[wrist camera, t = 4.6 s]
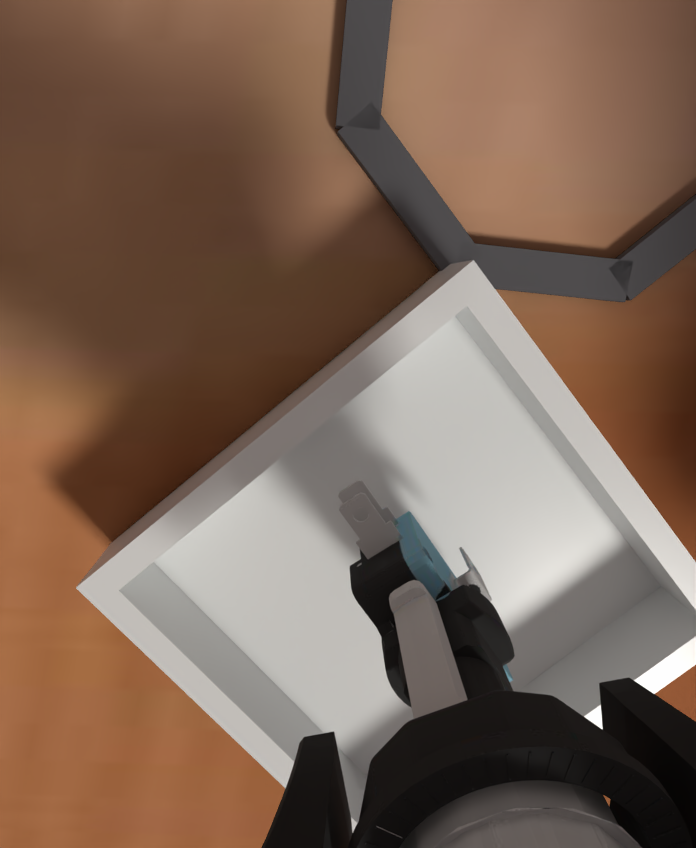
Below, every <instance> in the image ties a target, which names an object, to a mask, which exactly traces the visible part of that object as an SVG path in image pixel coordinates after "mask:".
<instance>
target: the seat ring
mask: <svg viewBox="0 0 696 848" xmlns="http://www.w3.org/2000/svg"><path fill="white" fill-rule="evenodd" d="M392 1H393V0H347V4H346V15H345V26H344V38H343V49H342V60H341V72H340V83H339V94H338V106H337V117H336V128H335V129H340V130H339V131H338V133H337V135H338V137H339V138H340V139H341V141H342V142H343V143H344V145H345V146H346V147H347V149H348V150H349V151H350V153H351V154H352V155H353V157H354V158H355V159H356V161H357V162H358V163H359V165H360V166H361V167H362V169H363V170H364V171H365V173H366V174H367V175H368V177H369V178H370V179H371V181H372V182H373V183H374V185H375V186H376V187H377V189H378V190H379V191H380V193H381V194H382V195H383V197H384V198H385V199H386V201H387V202H388V203H389V204H390V206H391V207H392V208H393V210H394V211H395V212H396V214H397V215H398V216H399V218H400V219H401V220H402V222H403V223H404V224H405V226H406V227H407V228H408V230H409V231H410V232H411V234H412V235H413V236H414V238H415V239H416V240H417V242H418V243H419V244H420V246H421V247H422V248H423V250H424V251H425V252H426V254H427V255H428V256H429V258H430V259H431V260H432V262H433V263H434V264H435V266H436V267H437V268H438V270H439V271H442V270H444V269H445V268H446V267H447V266H449V265H450V264H453V263H459V262H464V261H470V260H474V261H475V263H476V264H477V265H478V267H479V268H480V269H481V271H482V272H483V273H484V275H485V276H486V278H487V279H488V280H489V282H490V283H491V284H492V286H493V287H494V288H495V289H501V290H510V291H520V292H529V293H539V294H549V295H558V296H568V297H577V298H587V299H596V300H606V301H615V302H625V300H632V299H633V298H634V297H636V296H637V295H638V294H639V293H641V292H642V291H643V290H644V289H646V288H647V287H648V286H649V285H651V284H652V283H653V282H655V281H656V280H657V279H658V278H660V277H661V276H662V275H663V274H665V273H666V272H667V271H668V270H670V269H671V268H672V267H673V266H675V265H676V264H677V263H679V262H680V261H681V260H682V259H684V258H685V257H686V256H687V255H689V254H690V253H691V252H692V251H694V250H695V249H696V194H695V195H694V196H693V197H692V198H690V199H689V200H688V201H687V202H685V203H684V204H683V205H682V206H680V207H679V208H678V209H677V210H675V211H674V212H673V213H672V214H670V215H669V216H668V217H667V218H665V219H664V220H663V221H662V222H660V223H659V224H658V225H657V226H655V227H654V228H653V229H652V230H650V231H649V232H648V233H647V234H645V235H644V236H643V237H642V238H640V239H639V240H638V241H637V242H635V243H634V244H633V245H632V246H630V247H629V248H628V249H627V250H625V251H624V252H623V253H622V254H621V255H619V256H618V257H617V258H616V259H610V258H601V257H592V256H583V255H574V254H565V253H556V252H547V251H538V250H529V249H520V248H511V247H502V246H493V245H484V244H475V243H474V242H473V240H472V239H471V238H470V236H469V235H468V233H467V232H466V231H465V229H464V228H463V227H462V225H461V224H460V222H459V221H458V220H457V218H456V217H455V216H454V214H453V213H452V212H451V210H450V209H449V207H448V206H447V205H446V203H445V202H444V201H443V199H442V198H441V196H440V195H439V194H438V192H437V191H436V190H435V188H434V187H433V185H432V184H431V183H430V181H429V180H428V179H427V177H426V176H425V174H424V173H423V172H422V170H421V169H420V168H419V166H418V165H417V164H416V162H415V161H414V159H413V158H412V157H411V155H410V154H409V153H408V151H407V150H406V148H405V147H404V146H403V144H402V143H401V142H400V140H399V139H398V137H397V136H396V135H395V133H394V132H393V131H392V129H391V128H390V126H389V125H388V124H387V122H386V121H385V120H384V118H383V117H382V116H381V108H382V98H383V88H384V78H385V69H386V59H387V49H388V40H389V30H390V20H391V10H392Z"/></svg>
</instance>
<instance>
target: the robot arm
mask: <svg viewBox="0 0 696 848" xmlns="http://www.w3.org/2000/svg"><path fill="white" fill-rule="evenodd" d="M599 689H600V701H601V714H602V727H603V730H604V731H605V732H606V733H608V734H609V735H611V736H612V737H614V738H615V739H616V740H618V741H619V742H620V743H621V744H622V746H623V747H624V749H625V751H626V752H627V754H629V755H630V756H632V757H633V758H635V759H636V760H638V761H639V762H640V763H641V764H643V765H644V766H645V767H646V768H647V769H648V770H650V771H651V773H652V774H653V775H654V776H655V777H656V778H657V779H658V780H659V781H660V783H661V784H662V786H663V787H664V788H665V790H666V791H667V793H668V794H669V796H670V797H671V799H672V801H673V802H674V804H675V805H676V807H677V808H678V810H679V812H680V813H681V815H682V817H683V819H684V821H685V823H686V825H687V828H688V831H689V834H690V837H691V840H692V845H693V848H696V722H695V721H694V720H692V719H691V718H689V717H688V716H686V715H685V714H683V713H682V712H680V711H679V710H677V709H676V708H674V707H673V706H671V705H670V704H668V703H667V702H665V701H664V700H662V699H661V698H659V697H658V696H656V695H655V694H653V693H652V692H650V691H649V690H647V689H646V688H644V687H643V686H641V685H640V684H638V683H637V682H635V681H634V680H632V679H631V678H629V677H628V678H623V679H617V680H612V681H606V682H601V683H599ZM352 834H353V832H352V822H351V814H350V809H349V804H348V799H347V794H346V789H345V784H344V779H343V774H342V768H341V763H340V758H339V753H338V748H337V743H336V738H335V733H334V732H328V733H323V734H317V735H312V736H306V737H304V738H303V739H302V740H301V741H300V743H299V746H298V751H297V754H296V758H295V761H294V765H293V768H292V771H291V774H290V777H289V780H288V783H287V786H286V789H285V792H284V794H283V797H282V800H281V802H280V805H279V807H278V810H277V812H276V815H275V817H274V820H273V822H272V825H271V828H270V830H269V832H268V835H267V837H266V839H265V841H264V844H263V846H262V848H348V845H349V842H350V839H351V837H352Z"/></svg>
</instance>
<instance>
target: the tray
mask: <svg viewBox="0 0 696 848" xmlns="http://www.w3.org/2000/svg"><path fill="white" fill-rule="evenodd" d="M357 480H362V481H363V482H364V484H365V485H366V486H367V488H368V489H369V491H370V492H371V493H372V495H373V496H374V498H375V499H376V500H377V502H378V503H379V505H380V506H381V508H382V509H383V508H385V507H386V506H387V507H388V508H389V509H390V511H391V512H392V514H393V515H394V517H395V518H396V519H397V518H398V517H400V516H402V515H403V514H405V513H406V512H408V511H410V512H411V513H412V515H413V516H414V517H415V519H416V520H417V522H418V523H419V525H420V526H421V528H422V529H423V530H424V532H425V533H426V535H427V536H428V538H429V539H430V540H431V542H432V543H433V545H434V546H435V548H436V549H437V551H438V552H439V553H440V555H441V556H442V558H443V559H444V561H445V562H446V564H447V565H448V566H449V568H450V569H451V571H452V572H453V574H454V575H455V576H456V578H457V577H459V576H461V575H462V574H464V573H466V572H467V571H468V570H469V568H468V566H467V565H466V562H465V560H464V558H463V556H462V554H461V552H460V549H459V548H460V547H462V548H463V549H464V551H465V552H466V554H467V555H468V557H469V558H470V560H471V561H472V563H473V564H474V566H475V567H476V569H477V570H478V572H479V574H480V575H481V577H482V579H483V581H484V584H485V586H486V588H487V590H488V592H489V595H490V596H491V598H492V600H491V601H490V602H491V603H492V605H493V606H494V607H495V609H496V611H497V612H498V614H499V616H500V618H501V620H502V622H503V624H504V626H505V628H506V631H507V633H508V635H509V637H510V639H511V642H512V645H513V649H514V655H515V656H514V658H513V659H512V660H511V661H510V662H509V663H507V666H508V668H509V671H510V673H511V675H512V678H513V680H512V681H511V682H510V684H511V687H512V689H513V691H516V692H526V693H536V694H546V695H552V696H554V697H556V698H558V699H559V700H561V701H562V702H564V703H565V704H566V705H568V706H569V707H571V708H572V709H574V710H575V711H576V712H578V713H579V714H581V715H582V716H584V717H585V718H586V719H588V720H589V721H591V722H592V723H594V724H595V725H596V726H598V727H599V728H601V729H602V730H603V727H602V714H601V701H600V689H599V683H601V682H606V681H612V680H617V679H623V678H628V677H629V678H631V679H632V680H634V681H635V682H637V683H638V684H640V685H641V686H643V687H644V688H646V689H647V690H649V691H650V692H652V693H653V694H655V693H656V692H658V691H659V690H660V689H662V688H663V687H665V686H666V685H667V684H669V683H670V682H672V681H673V680H674V679H676V678H677V677H679V676H680V675H682V674H683V673H684V672H686V671H687V670H689V669H690V668H691V667H693V666H694V665H696V562H695V561H694V559H693V558H692V557H691V555H690V554H689V553H688V551H687V550H686V548H685V547H684V546H683V544H682V543H681V542H680V540H679V539H678V538H677V536H676V535H675V533H674V532H673V531H672V529H671V528H670V527H669V525H668V524H667V523H666V521H665V520H664V518H663V517H662V516H661V514H660V513H659V512H658V510H657V509H656V508H655V506H654V505H653V504H652V502H651V501H650V499H649V498H648V497H647V495H646V494H645V493H644V491H643V490H642V489H641V487H640V486H639V484H638V483H637V482H636V480H635V479H634V478H633V476H632V475H631V474H630V472H629V471H628V469H627V468H626V467H625V465H624V464H623V463H622V461H621V460H620V459H619V457H618V456H617V455H616V453H615V452H614V450H613V449H612V448H611V446H610V445H609V444H608V442H607V441H606V440H605V438H604V437H603V435H602V434H601V433H600V431H599V430H598V429H597V427H596V426H595V425H594V423H593V422H592V420H591V419H590V418H589V416H588V415H587V414H586V412H585V411H584V410H583V408H582V407H581V406H580V404H579V403H578V401H577V400H576V399H575V397H574V396H573V395H572V393H571V392H570V391H569V389H568V388H567V386H566V385H565V384H564V382H563V381H562V380H561V378H560V377H559V376H558V374H557V373H556V371H555V370H554V369H553V367H552V366H551V365H550V363H549V362H548V361H547V359H546V358H545V357H544V355H543V354H542V352H541V351H540V350H539V348H538V347H537V346H536V344H535V343H534V342H533V340H532V339H531V337H530V336H529V335H528V333H527V332H526V331H525V329H524V328H523V327H522V325H521V324H520V322H519V321H518V320H517V318H516V317H515V316H514V314H513V313H512V312H511V310H510V309H509V308H508V306H507V305H506V303H505V302H504V301H503V299H502V298H501V297H500V295H499V294H498V293H497V291H496V290H495V288H494V287H493V286H492V284H491V283H490V282H489V280H488V279H487V278H486V276H485V275H484V273H483V272H482V271H481V269H480V268H479V267H478V265H477V264H476V263H475V261H474V260H470V261H464V262H459V263H453V264H450V265H449V266H447V267H446V268H445V269H444V270H442V271H439V272H438V273H437V274H435V275H434V276H433V277H432V278H430V279H429V280H428V281H427V282H426V283H424V284H423V285H422V286H421V287H420V288H418V289H417V290H416V291H415V292H414V293H412V294H411V295H410V296H409V297H408V298H406V299H405V300H404V301H403V302H401V303H400V304H399V305H398V306H397V307H395V308H394V309H393V310H392V311H391V312H389V313H388V314H387V315H386V316H385V317H383V318H382V319H381V320H380V321H379V322H377V323H376V324H375V325H374V326H372V327H371V328H370V329H369V330H368V331H366V332H365V333H364V334H363V335H362V336H360V337H359V338H358V339H357V340H356V341H354V342H353V343H352V344H351V345H350V346H348V347H347V348H346V349H345V350H343V351H342V352H341V353H340V354H339V355H337V356H336V357H335V358H334V359H333V360H331V361H330V362H329V363H328V364H327V365H325V366H324V367H323V368H322V369H321V370H319V371H318V372H317V373H316V374H314V375H313V376H312V377H311V378H310V379H308V380H307V381H306V382H305V383H304V384H302V385H301V386H300V387H299V388H298V389H296V390H295V391H294V392H293V393H292V394H290V395H289V396H288V397H287V398H285V399H284V400H283V401H282V402H281V403H279V404H278V405H277V406H276V407H275V408H273V409H272V410H271V411H270V412H269V413H267V414H266V415H265V416H264V417H263V418H261V419H260V420H259V421H258V422H256V423H255V424H254V425H253V426H252V427H250V428H249V429H248V430H247V431H246V432H244V433H243V434H242V435H241V436H240V437H238V438H237V439H236V440H235V441H234V442H232V443H231V444H230V445H229V446H227V447H226V448H225V449H224V450H223V451H221V452H220V453H219V454H218V455H217V456H215V457H214V458H213V459H212V460H211V461H209V462H208V463H207V464H206V465H205V466H203V467H202V468H201V469H200V470H198V471H197V472H196V473H195V474H194V475H192V476H191V477H190V478H189V479H188V480H186V481H185V482H184V483H183V484H182V485H180V486H179V487H178V488H177V489H176V490H174V491H173V492H172V493H171V494H170V495H168V496H167V497H166V498H165V499H163V500H162V501H161V502H160V503H159V504H157V505H156V506H155V507H154V508H153V509H151V510H150V511H149V512H148V513H147V514H145V515H144V516H143V517H142V518H141V519H139V520H138V521H137V522H136V523H134V524H133V525H132V526H131V527H130V528H128V529H127V530H126V531H125V532H124V533H122V534H121V535H120V536H119V537H118V538H116V539H115V540H114V541H113V542H112V543H111V544H110V545H109V546H108V548H107V549H106V550H105V551H104V553H103V554H102V555H101V556H100V558H99V559H98V560H97V562H96V563H95V564H94V565H93V567H92V568H91V569H90V570H89V572H88V573H87V574H86V575H85V577H84V578H83V579H82V581H81V582H80V583H79V584H78V586H77V587H76V588H77V589H78V590H79V591H80V592H81V593H82V594H83V595H84V596H85V597H86V598H87V599H88V600H89V601H90V602H91V603H92V604H93V605H94V606H95V607H96V608H97V609H99V610H100V611H101V612H102V613H103V614H104V615H105V616H106V617H107V618H108V619H109V620H110V621H111V622H112V623H113V624H114V625H115V626H116V627H117V628H118V629H119V630H120V631H122V632H123V633H124V634H125V635H126V636H127V637H128V638H129V639H130V640H131V641H132V642H133V643H134V644H135V645H136V646H137V647H138V648H139V649H140V650H141V651H142V652H143V653H145V654H146V655H147V656H148V657H149V658H150V659H151V660H152V661H153V662H154V663H155V664H156V665H157V666H158V667H159V668H160V669H161V670H162V671H163V672H164V673H165V674H167V675H168V676H169V677H170V678H171V679H172V680H173V681H174V682H175V683H176V684H177V685H178V686H179V687H180V688H181V689H182V690H183V691H184V692H185V693H186V694H187V695H188V696H190V697H191V698H192V699H193V700H194V701H195V702H196V703H197V704H198V705H199V706H200V707H201V708H202V709H203V710H204V711H205V712H206V713H207V714H208V715H209V716H210V717H211V718H213V719H214V720H215V721H216V722H217V723H218V724H219V725H220V726H221V727H222V728H223V729H224V730H225V731H226V732H227V733H228V734H229V735H230V736H231V737H232V738H233V739H234V740H236V741H237V742H238V743H239V744H240V745H241V746H242V747H243V748H244V749H245V750H246V751H247V752H248V753H249V754H250V755H251V756H252V757H253V758H254V759H255V760H256V761H258V762H259V763H260V764H261V765H262V766H263V767H264V768H265V769H266V770H267V771H268V772H269V773H270V774H271V775H272V776H273V777H274V778H275V779H276V780H277V781H278V782H279V783H281V784H282V785H283V786H284V787H285V788H286V786H287V783H288V780H289V777H290V774H291V771H292V768H293V765H294V761H295V758H296V754H297V751H298V746H299V743H300V741H301V740H302V739H303V738H304V737H306V736H312V735H317V734H323V733H328V732H334V733H335V738H336V743H337V748H338V753H339V758H340V763H341V768H342V774H343V779H344V784H345V789H346V794H347V799H348V804H349V809H350V814H351V822H352V832H353V831H354V829H355V827H356V825H357V823H358V822H359V817H360V812H361V807H362V802H363V796H364V791H365V786H366V781H367V775H368V770H369V765H370V762H371V760H372V758H373V757H374V756H375V755H376V754H377V753H378V752H379V750H380V749H381V748H382V747H383V746H384V745H385V744H386V743H387V742H388V741H389V740H390V739H391V738H392V737H393V736H394V735H395V734H396V733H397V732H398V731H399V729H400V728H401V727H402V726H403V725H404V724H405V723H407V722H408V721H410V720H412V719H414V717H413V712H412V708H411V707H409V706H408V705H407V704H405V703H404V702H403V701H402V700H401V699H400V698H399V697H398V696H397V695H396V693H395V692H394V690H393V689H392V687H391V685H390V683H389V681H388V678H387V674H386V670H385V663H384V656H383V650H382V641H381V636H380V634H379V632H378V630H377V628H376V626H375V625H374V624H373V622H372V621H371V620H370V618H369V617H368V616H367V614H366V613H365V612H364V610H363V609H362V608H361V606H360V605H359V604H358V602H357V601H356V599H355V597H354V595H353V593H352V590H351V580H350V565H352V564H354V563H355V562H357V561H358V560H360V559H361V556H360V548H359V547H358V545H357V544H356V541H358V540H359V539H360V538H359V537H358V536H357V534H356V533H355V532H354V530H353V529H352V528H351V526H350V525H349V523H348V522H347V521H346V519H345V518H344V517H343V515H342V514H341V512H340V511H339V508H340V505H341V504H343V503H342V501H341V500H340V499H339V497H338V495H339V492H340V491H341V490H343V489H345V488H346V487H348V486H349V485H351V484H352V483H354V482H356V481H357ZM356 495H357V494H356ZM353 497H354V496H353Z"/></svg>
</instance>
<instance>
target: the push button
mask: <svg viewBox="0 0 696 848" xmlns="http://www.w3.org/2000/svg"><path fill="white" fill-rule="evenodd" d="M356 494H357V495H356ZM353 496H354V497H353ZM338 497H339V499H340V500H341V501H342V503H343V504H341V505H340V508H339V511H340V512H341V514H342V515H343V517H344V518H345V519H346V521H347V522H348V523H349V525H350V526H351V528H352V529H353V530H354V532H355V533H356V534H357V536H358V537H359V538H360V539H359V540H358V541H356V544H357V545H358V547H359V548H360V556H361V559H360V560H358V561H357V562H355V563H354V564H352V565H350V580H351V590H352V593H353V595H354V597H355V599H356V601H357V602H358V604H359V605H360V606H361V608H362V609H363V610H364V612H365V613H366V614H367V616H368V617H369V618H370V620H371V621H372V622H373V624H374V625H375V626H376V628H377V630H378V632H379V634H380V636H381V641H382V650H383V656H384V663H385V670H386V674H387V678H388V681H389V683H390V685H391V687H392V689H393V690H394V692H395V693H396V695H397V696H398V697H399V698H400V699H401V700H402V701H403V702H404V703H405V704H407V705H408V706H409V707H411V708H412V712H413V717H414V719H412V720H410V721H408V722H407V723H405V724H404V725H403V726H402V727H401V728H400V729H399V731H398V732H397V733H396V734H395V735H394V736H393V737H392V738H391V739H390V740H389V741H388V742H387V743H386V744H385V745H384V746H383V747H382V748H381V749H380V750H379V752H378V753H377V754H376V755H375V756H374V757H373V758H372V760H371V762H370V765H369V770H368V775H367V781H366V786H365V791H364V796H363V802H362V807H361V812H360V817H359V822H358V823H357V825H356V827H355V829H354V831H353V834H352V837H351V839H350V842H349V845H348V848H693V845H692V840H691V837H690V834H689V831H688V828H687V825H686V823H685V821H684V819H683V817H682V815H681V813H680V812H679V810H678V808H677V807H676V805H675V804H674V802H673V801H672V799H671V797H670V796H669V794H668V793H667V791H666V790H665V788H664V787H663V786H662V784H661V783H660V781H659V780H658V779H657V778H656V777H655V776H654V775H653V774H652V773H651V771H650V770H648V769H647V768H646V767H645V766H644V765H643V764H641V763H640V762H639V761H638V760H636V759H635V758H633V757H632V756H630V755H629V754H627V752H626V751H625V749H624V747H623V746H622V744H621V743H620V742H619V741H618V740H616V739H615V738H614V737H612V736H611V735H609V734H608V733H606V732H605V731H604V730H602V729H601V728H599V727H598V726H596V725H595V724H594V723H592V722H591V721H589V720H588V719H586V718H585V717H584V716H582V715H581V714H579V713H578V712H576V711H575V710H574V709H572V708H571V707H569V706H568V705H566V704H565V703H564V702H562V701H561V700H559V699H558V698H556V697H554V696H552V695H546V694H536V693H526V692H516V691H513V689H512V687H511V684H510V682H511V681H512V680H513V678H512V675H511V673H510V671H509V668H508V666H507V663H509V662H510V661H511V660H512V659H513V658H514V656H515V655H514V649H513V645H512V642H511V639H510V637H509V635H508V633H507V631H506V628H505V626H504V624H503V622H502V620H501V618H500V616H499V614H498V612H497V611H496V609H495V607H494V606H493V605H492V603H491V602H490V601H491V600H492V598H491V596H490V595H489V592H488V590H487V588H486V586H485V584H484V581H483V579H482V577H481V575H480V574H479V572H478V570H477V569H476V567H475V566H474V564H473V563H472V561H471V560H470V558H469V557H468V555H467V554H466V552H465V551H464V549H463V548H462V547H460V548H459V549H460V552H461V554H462V556H463V558H464V560H465V562H466V565H467V566H468V568H469V570H468V571H467V572H466V573H464V574H462V575H461V576H459V577H457V578H456V576H455V575H454V574H453V572H452V571H451V569H450V568H449V566H448V565H447V564H446V562H445V561H444V559H443V558H442V556H441V555H440V553H439V552H438V551H437V549H436V548H435V546H434V545H433V543H432V542H431V540H430V539H429V538H428V536H427V535H426V533H425V532H424V530H423V529H422V528H421V526H420V525H419V523H418V522H417V520H416V519H415V517H414V516H413V515H412V513H411V512H410V511H408V512H406V513H405V514H403V515H402V516H400V517H398V518H397V519H396V518H395V517H394V515H393V514H392V512H391V511H390V509H389V508H388V507H387V506H386V507H385V508H383V509H382V508H381V506H380V505H379V503H378V502H377V500H376V499H375V498H374V496H373V495H372V493H371V492H370V491H369V489H368V488H367V486H366V485H365V484H364V482H363V481H362V480H357V481H356V482H354V483H352V484H351V485H349V486H348V487H346V488H345V489H343V490H341V491H340V492H339V495H338ZM603 795H605V796H607V797H608V798H610V799H611V801H610V807H609V806H608V804H607V802H606V800H605V798H604V796H603Z"/></svg>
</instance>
